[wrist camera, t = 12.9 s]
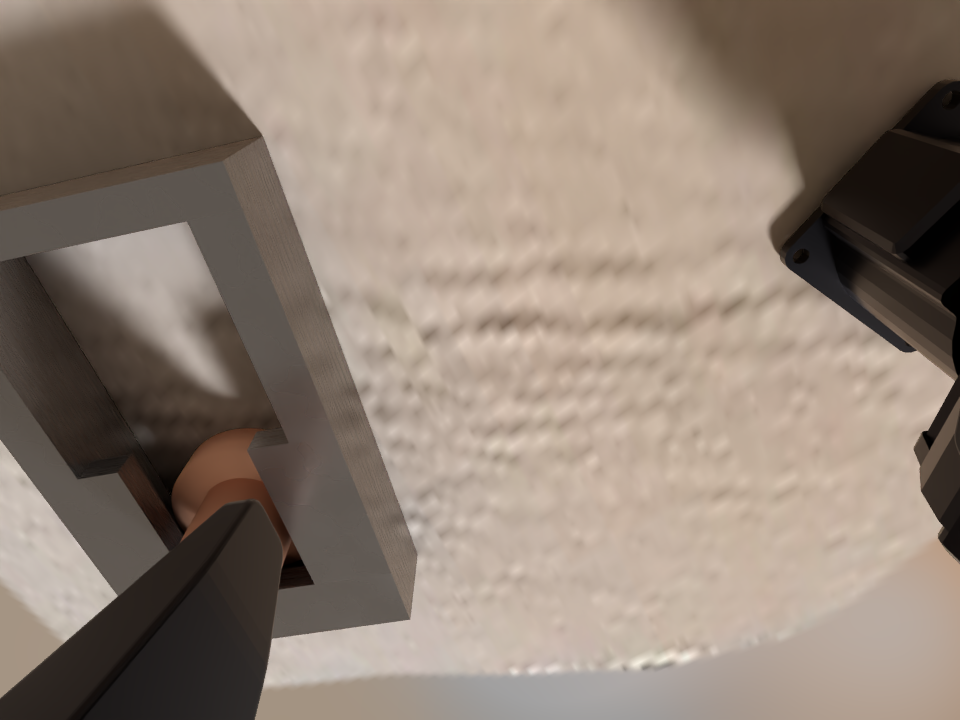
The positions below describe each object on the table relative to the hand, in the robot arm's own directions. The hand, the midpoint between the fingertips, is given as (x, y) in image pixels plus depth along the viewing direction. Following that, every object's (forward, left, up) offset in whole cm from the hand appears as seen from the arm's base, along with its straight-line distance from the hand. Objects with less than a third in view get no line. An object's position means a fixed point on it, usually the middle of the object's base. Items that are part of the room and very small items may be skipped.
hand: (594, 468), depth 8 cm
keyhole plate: (+5, +13, -13) cm, 19 cm away
